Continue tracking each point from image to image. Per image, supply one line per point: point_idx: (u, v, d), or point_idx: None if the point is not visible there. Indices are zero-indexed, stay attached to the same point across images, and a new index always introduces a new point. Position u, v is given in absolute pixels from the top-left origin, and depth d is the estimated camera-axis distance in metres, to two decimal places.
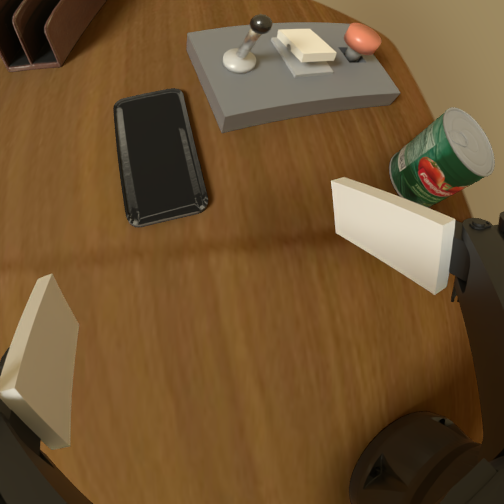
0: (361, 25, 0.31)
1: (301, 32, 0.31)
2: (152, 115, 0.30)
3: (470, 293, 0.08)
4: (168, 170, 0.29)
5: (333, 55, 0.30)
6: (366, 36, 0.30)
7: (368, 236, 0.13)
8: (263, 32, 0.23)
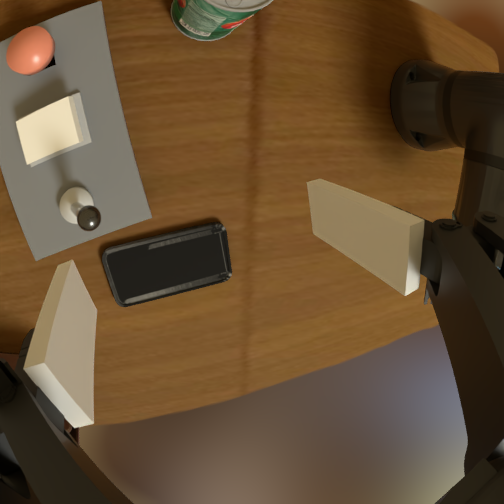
0: (10, 52, 0.16)
1: (27, 135, 0.22)
2: (134, 273, 0.36)
3: (444, 296, 0.08)
4: (189, 254, 0.37)
5: (70, 99, 0.22)
6: (33, 48, 0.17)
7: (342, 237, 0.13)
8: (100, 214, 0.23)
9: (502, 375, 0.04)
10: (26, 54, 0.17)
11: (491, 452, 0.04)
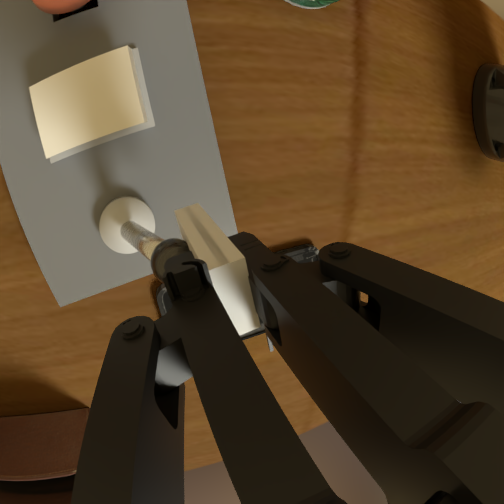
0: None
1: (49, 109, 0.13)
2: None
3: (290, 348, 0.08)
4: None
5: (130, 51, 0.13)
6: None
7: None
8: None
9: (399, 443, 0.04)
10: None
11: None
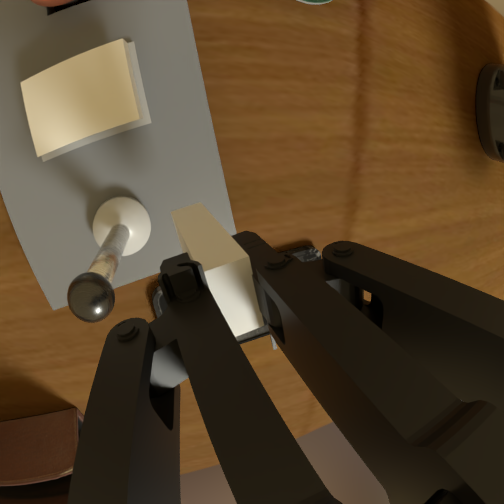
0: None
1: (41, 105, 0.12)
2: None
3: (293, 346, 0.08)
4: None
5: (125, 45, 0.12)
6: None
7: None
8: (112, 294, 0.11)
9: (401, 441, 0.04)
10: None
11: None
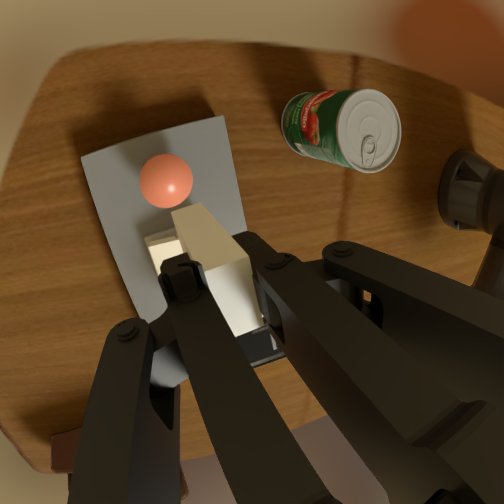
0: (144, 182, 0.24)
1: None
2: None
3: (293, 346, 0.08)
4: None
5: None
6: (173, 183, 0.25)
7: None
8: None
9: (401, 441, 0.04)
10: (166, 188, 0.25)
11: None
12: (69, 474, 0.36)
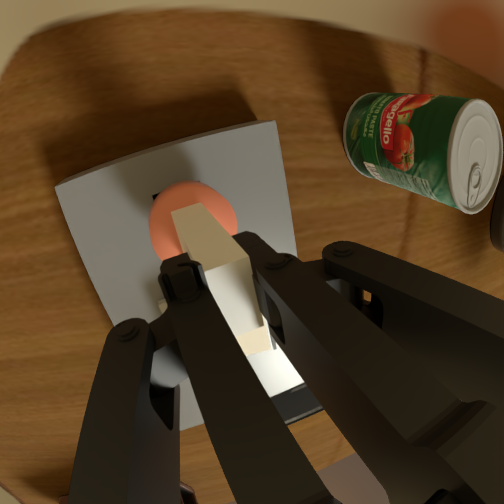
0: (159, 233, 0.15)
1: None
2: None
3: (293, 346, 0.08)
4: None
5: None
6: None
7: None
8: None
9: (401, 441, 0.04)
10: None
11: None
12: None
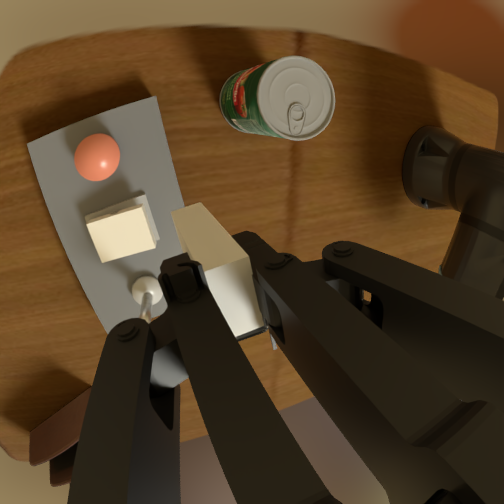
0: (78, 159, 0.25)
1: (101, 237, 0.29)
2: None
3: (293, 346, 0.08)
4: None
5: (143, 208, 0.29)
6: (103, 158, 0.26)
7: None
8: None
9: (401, 441, 0.04)
10: (96, 163, 0.26)
11: None
12: (50, 466, 0.37)
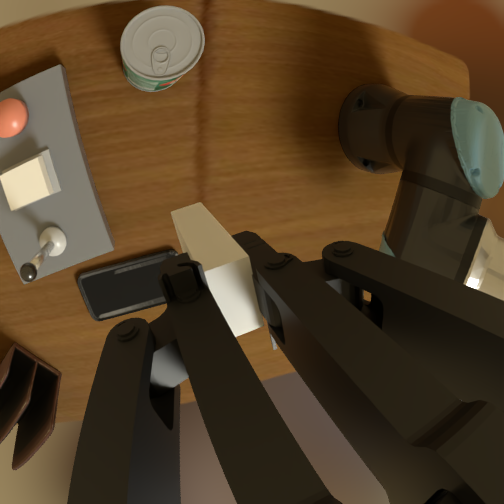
0: None
1: (9, 187, 0.27)
2: (104, 293, 0.41)
3: (293, 346, 0.08)
4: (149, 277, 0.43)
5: (40, 159, 0.27)
6: (11, 118, 0.24)
7: None
8: (35, 271, 0.26)
9: (401, 441, 0.04)
10: (6, 122, 0.24)
11: None
12: None
